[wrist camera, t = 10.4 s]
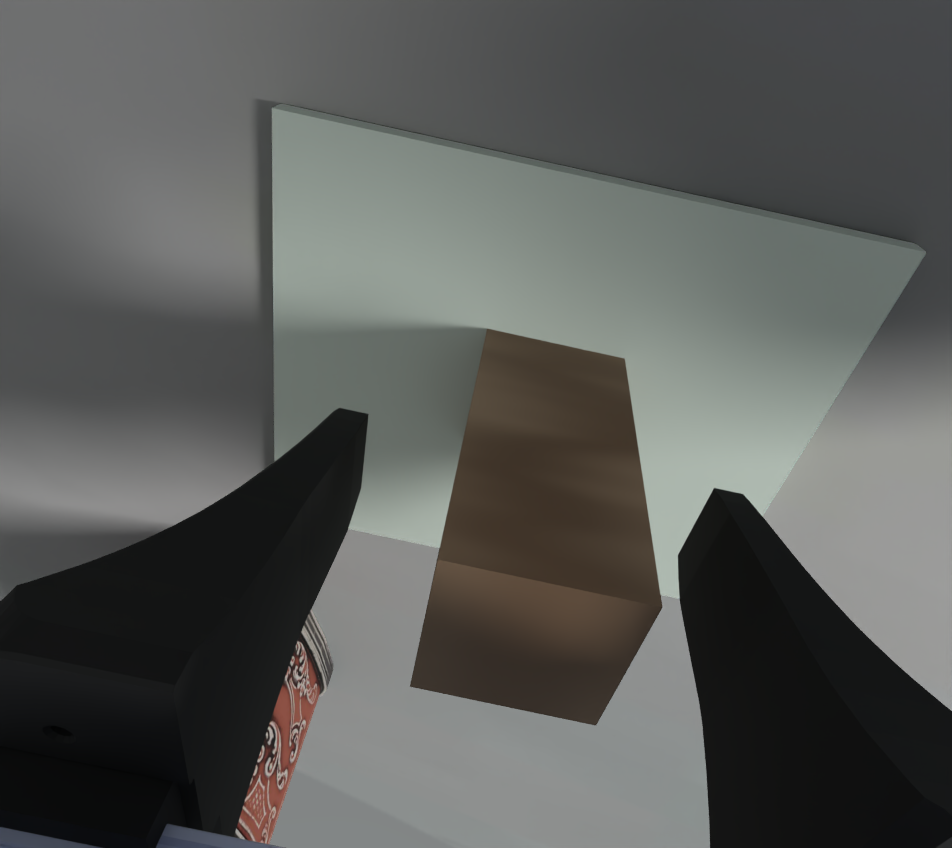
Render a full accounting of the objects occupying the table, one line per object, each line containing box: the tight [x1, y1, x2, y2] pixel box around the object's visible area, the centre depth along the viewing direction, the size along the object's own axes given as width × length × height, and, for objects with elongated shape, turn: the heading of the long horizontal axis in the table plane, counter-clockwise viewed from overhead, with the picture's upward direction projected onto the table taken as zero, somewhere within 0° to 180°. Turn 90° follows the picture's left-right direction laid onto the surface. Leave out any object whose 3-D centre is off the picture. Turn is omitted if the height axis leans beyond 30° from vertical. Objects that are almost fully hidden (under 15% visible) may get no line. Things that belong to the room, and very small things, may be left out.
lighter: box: [234, 609, 333, 844], centre depth 18 cm, size 8×3×10 cm, turn 14°
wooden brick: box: [410, 329, 662, 725], centre depth 13 cm, size 3×3×7 cm
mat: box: [272, 104, 927, 599], centre depth 16 cm, size 13×11×1 cm
